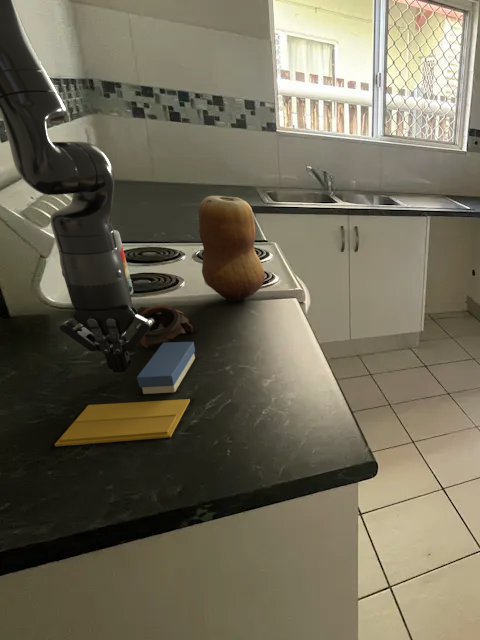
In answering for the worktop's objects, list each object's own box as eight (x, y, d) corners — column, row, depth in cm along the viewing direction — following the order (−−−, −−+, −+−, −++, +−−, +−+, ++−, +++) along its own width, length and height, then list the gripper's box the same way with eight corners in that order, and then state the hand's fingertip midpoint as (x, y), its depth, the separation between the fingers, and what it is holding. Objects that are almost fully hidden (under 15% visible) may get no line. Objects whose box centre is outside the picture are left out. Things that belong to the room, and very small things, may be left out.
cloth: (55, 446, 67) (53, 441, 66) (89, 407, 75) (87, 402, 75) (170, 437, 71) (169, 432, 71) (190, 400, 79) (189, 396, 79)
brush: (141, 395, 79) (136, 377, 78) (166, 358, 91) (163, 342, 89) (175, 393, 81) (171, 375, 80) (196, 357, 92) (193, 341, 91)
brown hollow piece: (208, 335, 102) (194, 312, 95) (172, 368, 96) (154, 346, 90) (163, 311, 103) (146, 287, 96) (125, 342, 98) (104, 318, 91)
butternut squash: (277, 299, 122) (266, 200, 111) (224, 312, 112) (206, 204, 101) (247, 285, 128) (234, 190, 118) (194, 296, 118) (175, 193, 108)
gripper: (153, 269, 81) (171, 358, 88) (57, 267, 77) (85, 361, 84) (135, 284, 74) (157, 379, 82) (30, 283, 70) (63, 383, 78)
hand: (120, 370), depth 83 cm, fingers closed
